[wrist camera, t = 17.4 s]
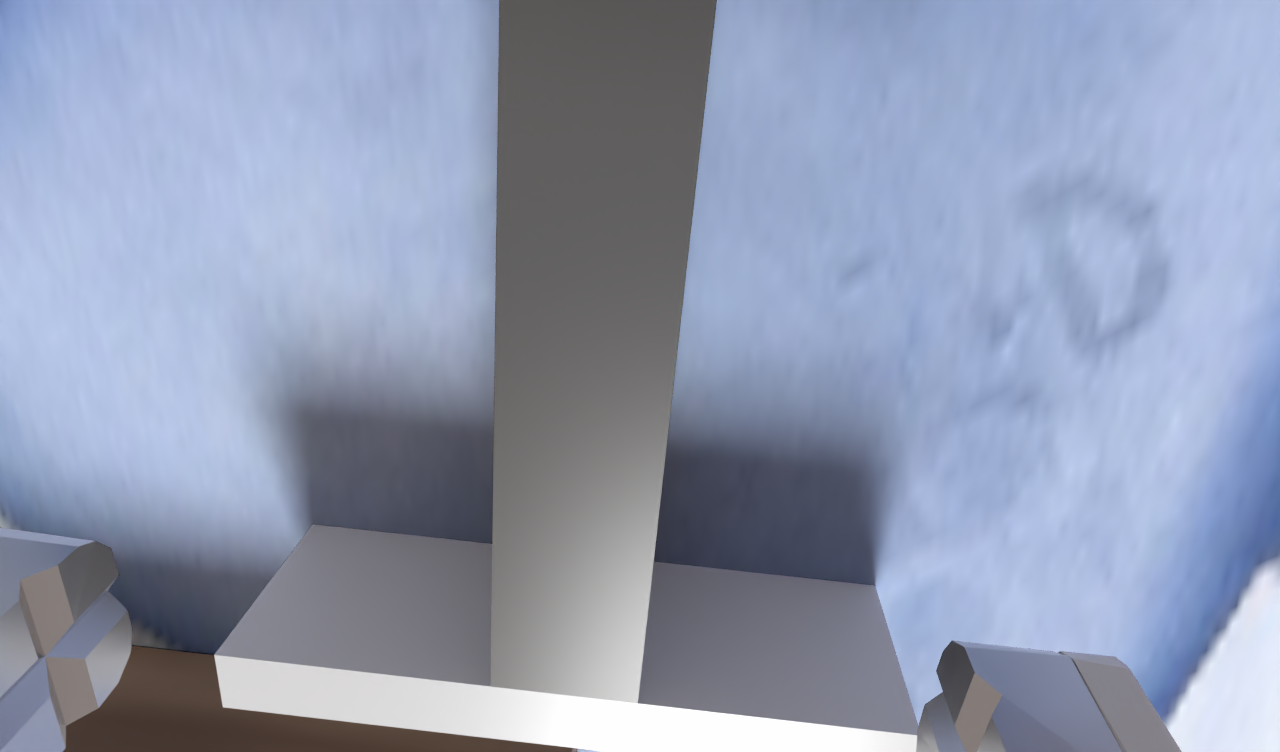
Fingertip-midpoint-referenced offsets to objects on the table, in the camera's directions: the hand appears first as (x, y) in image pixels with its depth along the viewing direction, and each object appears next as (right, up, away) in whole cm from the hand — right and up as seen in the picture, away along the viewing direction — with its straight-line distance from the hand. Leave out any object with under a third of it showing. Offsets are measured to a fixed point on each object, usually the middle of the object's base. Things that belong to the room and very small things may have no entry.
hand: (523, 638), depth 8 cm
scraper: (+1, +5, +6) cm, 8 cm away
